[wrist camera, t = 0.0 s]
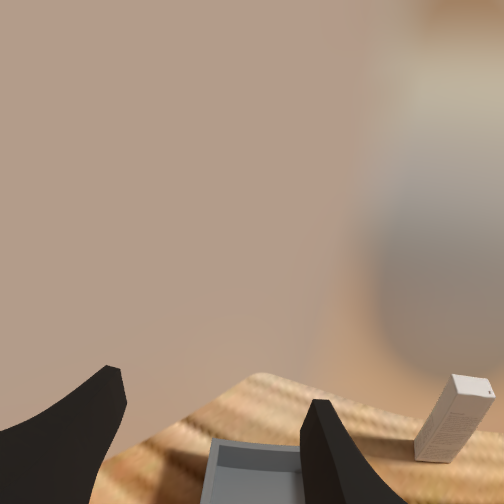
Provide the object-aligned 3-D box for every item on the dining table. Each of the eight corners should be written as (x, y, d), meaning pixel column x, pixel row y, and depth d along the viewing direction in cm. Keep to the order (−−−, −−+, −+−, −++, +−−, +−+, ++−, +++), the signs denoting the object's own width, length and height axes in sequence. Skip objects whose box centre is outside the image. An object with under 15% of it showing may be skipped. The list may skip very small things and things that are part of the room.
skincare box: (447, 443, 29) (488, 377, 26) (450, 463, 25) (497, 397, 22) (412, 439, 31) (451, 372, 28) (413, 461, 27) (457, 393, 24)
